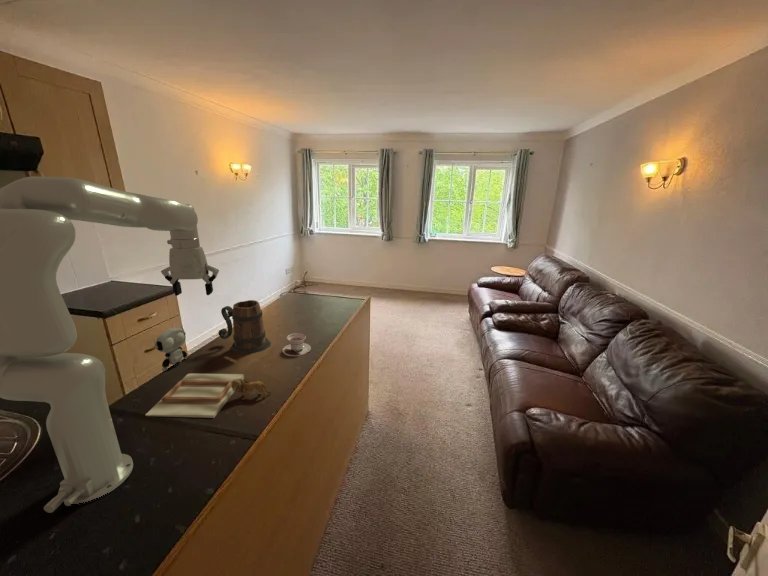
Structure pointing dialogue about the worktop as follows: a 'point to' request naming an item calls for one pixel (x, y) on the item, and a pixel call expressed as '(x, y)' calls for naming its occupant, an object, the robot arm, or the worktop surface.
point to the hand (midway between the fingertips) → (194, 294)
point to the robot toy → (171, 346)
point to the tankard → (245, 327)
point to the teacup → (297, 344)
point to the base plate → (196, 396)
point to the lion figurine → (248, 387)
